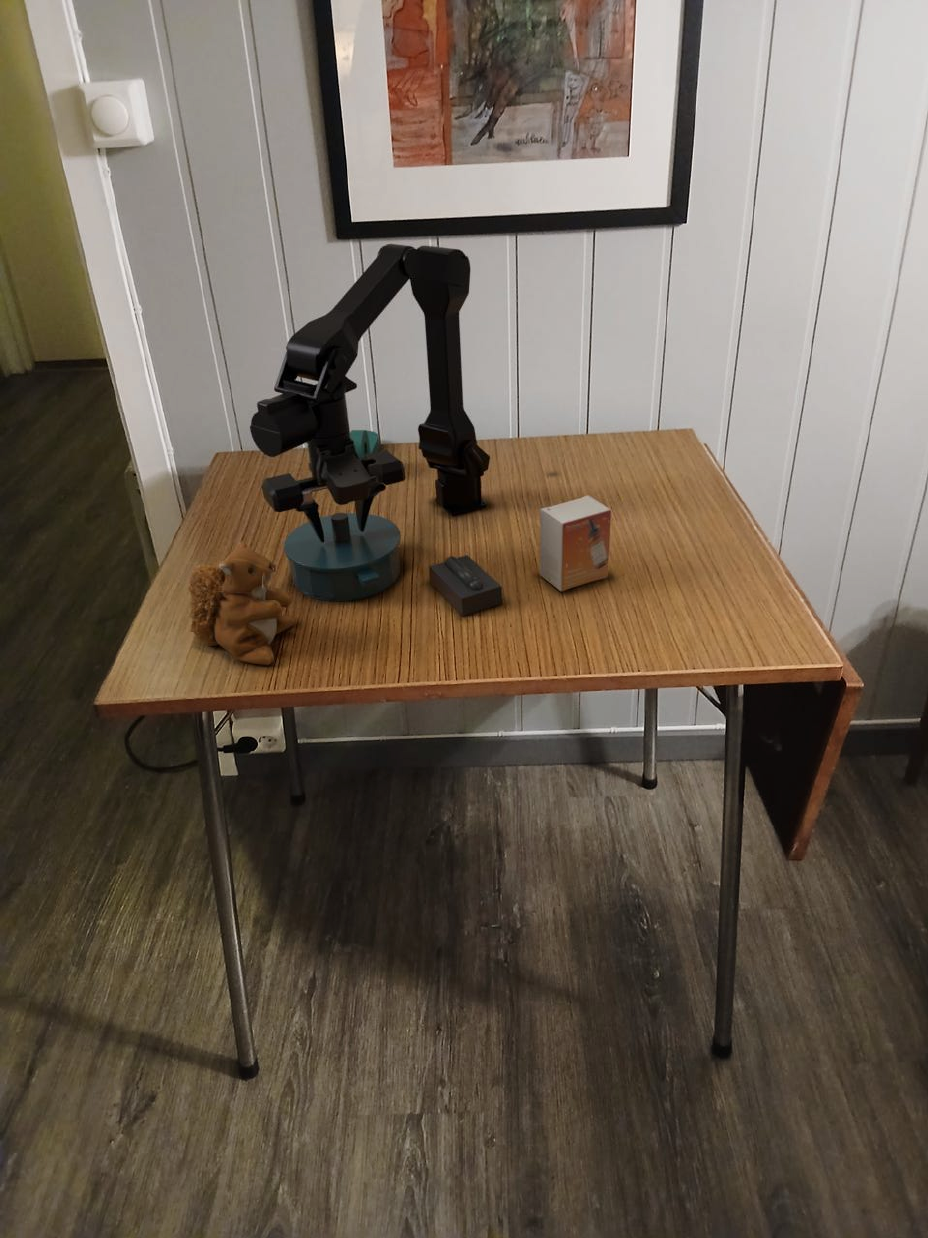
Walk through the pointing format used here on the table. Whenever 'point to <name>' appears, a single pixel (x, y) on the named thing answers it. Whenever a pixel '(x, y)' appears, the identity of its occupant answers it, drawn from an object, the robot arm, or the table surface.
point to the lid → (342, 543)
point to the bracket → (365, 442)
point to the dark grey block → (465, 585)
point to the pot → (347, 580)
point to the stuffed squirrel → (239, 605)
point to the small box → (574, 542)
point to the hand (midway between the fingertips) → (341, 535)
